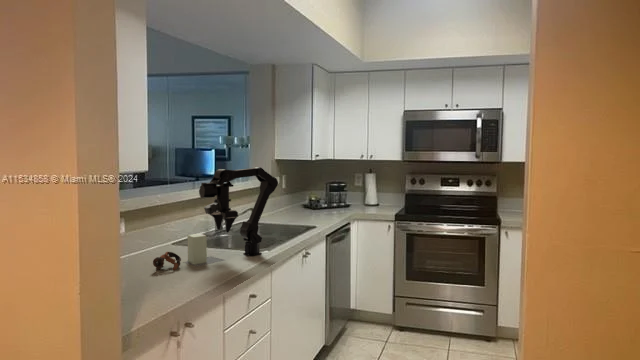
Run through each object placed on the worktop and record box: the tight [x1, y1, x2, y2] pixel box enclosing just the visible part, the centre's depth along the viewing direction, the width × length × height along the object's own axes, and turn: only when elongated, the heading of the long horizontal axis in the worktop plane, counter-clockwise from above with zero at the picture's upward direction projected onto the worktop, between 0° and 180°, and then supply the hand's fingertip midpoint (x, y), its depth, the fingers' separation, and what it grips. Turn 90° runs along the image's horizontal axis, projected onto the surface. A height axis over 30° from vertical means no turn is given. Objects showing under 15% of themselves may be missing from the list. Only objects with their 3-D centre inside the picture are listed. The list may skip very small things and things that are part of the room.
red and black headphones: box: [152, 251, 182, 271], centre depth 199 cm, size 12×10×8 cm
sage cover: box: [186, 233, 208, 264], centre depth 211 cm, size 6×7×12 cm
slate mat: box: [182, 255, 225, 267], centre depth 213 cm, size 15×11×1 cm
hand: (222, 230), depth 217 cm, fingers open, 9 cm apart
